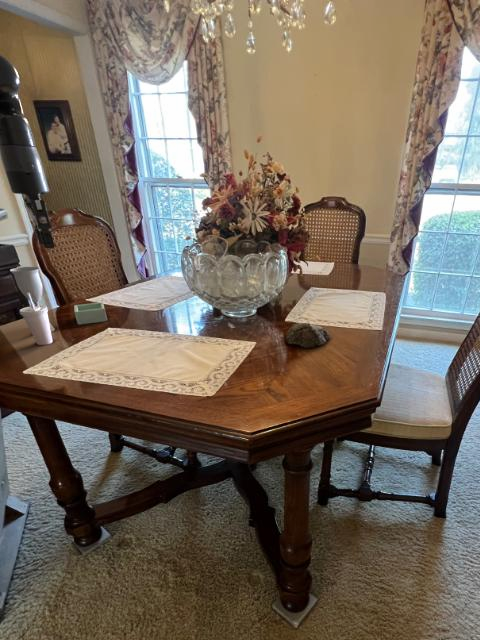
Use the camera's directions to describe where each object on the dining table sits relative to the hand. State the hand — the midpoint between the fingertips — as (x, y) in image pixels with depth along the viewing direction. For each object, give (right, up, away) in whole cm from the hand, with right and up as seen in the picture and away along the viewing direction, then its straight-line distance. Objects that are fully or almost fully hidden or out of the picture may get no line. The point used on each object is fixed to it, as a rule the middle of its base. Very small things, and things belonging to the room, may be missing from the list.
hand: (47, 246), depth 94 cm
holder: (-6, -12, +31) cm, 34 cm away
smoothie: (-9, -22, +12) cm, 27 cm away
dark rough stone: (+65, -21, +16) cm, 70 cm away
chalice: (-15, -17, +21) cm, 31 cm away
